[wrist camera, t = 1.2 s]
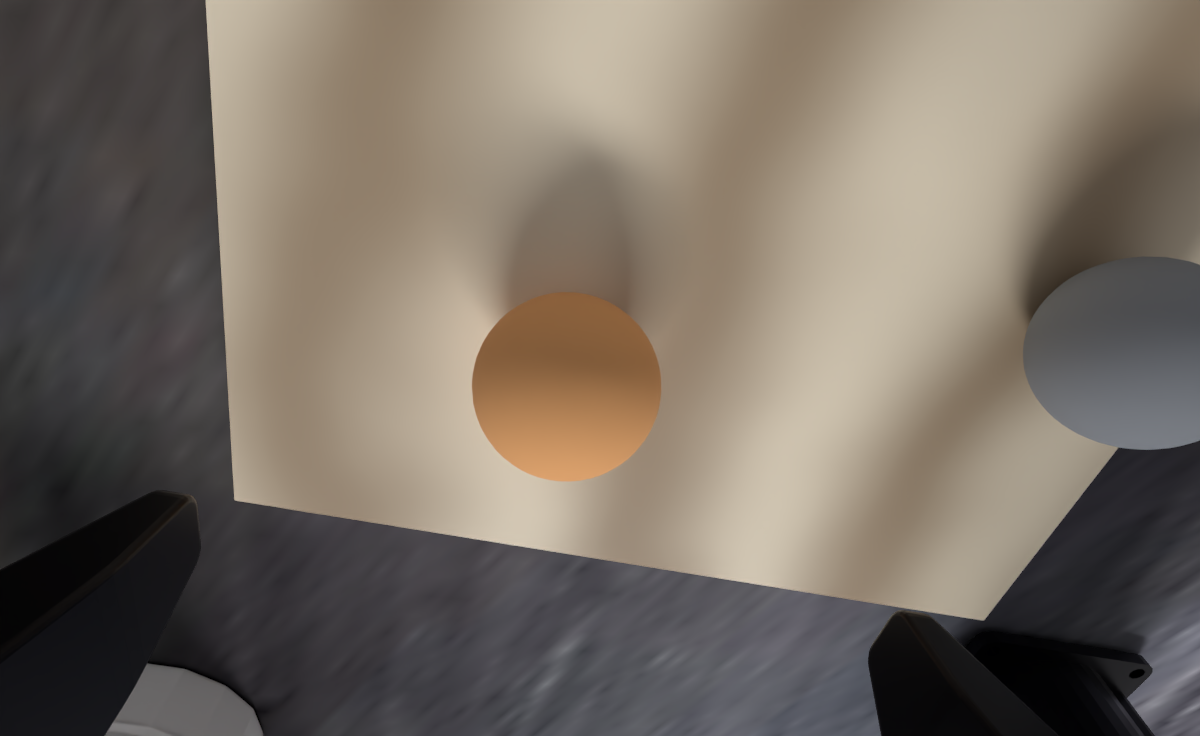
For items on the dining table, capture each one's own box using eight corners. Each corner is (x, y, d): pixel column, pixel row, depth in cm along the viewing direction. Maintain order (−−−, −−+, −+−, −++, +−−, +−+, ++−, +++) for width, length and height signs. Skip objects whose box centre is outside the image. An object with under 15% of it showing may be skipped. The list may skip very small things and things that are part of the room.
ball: (673, 284, 13) (698, 373, 10) (630, 424, 15) (640, 537, 12) (499, 246, 13) (471, 327, 10) (475, 395, 14) (444, 504, 11)
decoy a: (1206, 251, 13) (1394, 332, 10) (1099, 398, 15) (1232, 505, 12) (1047, 212, 12) (1193, 283, 9) (957, 368, 14) (1055, 471, 11)
